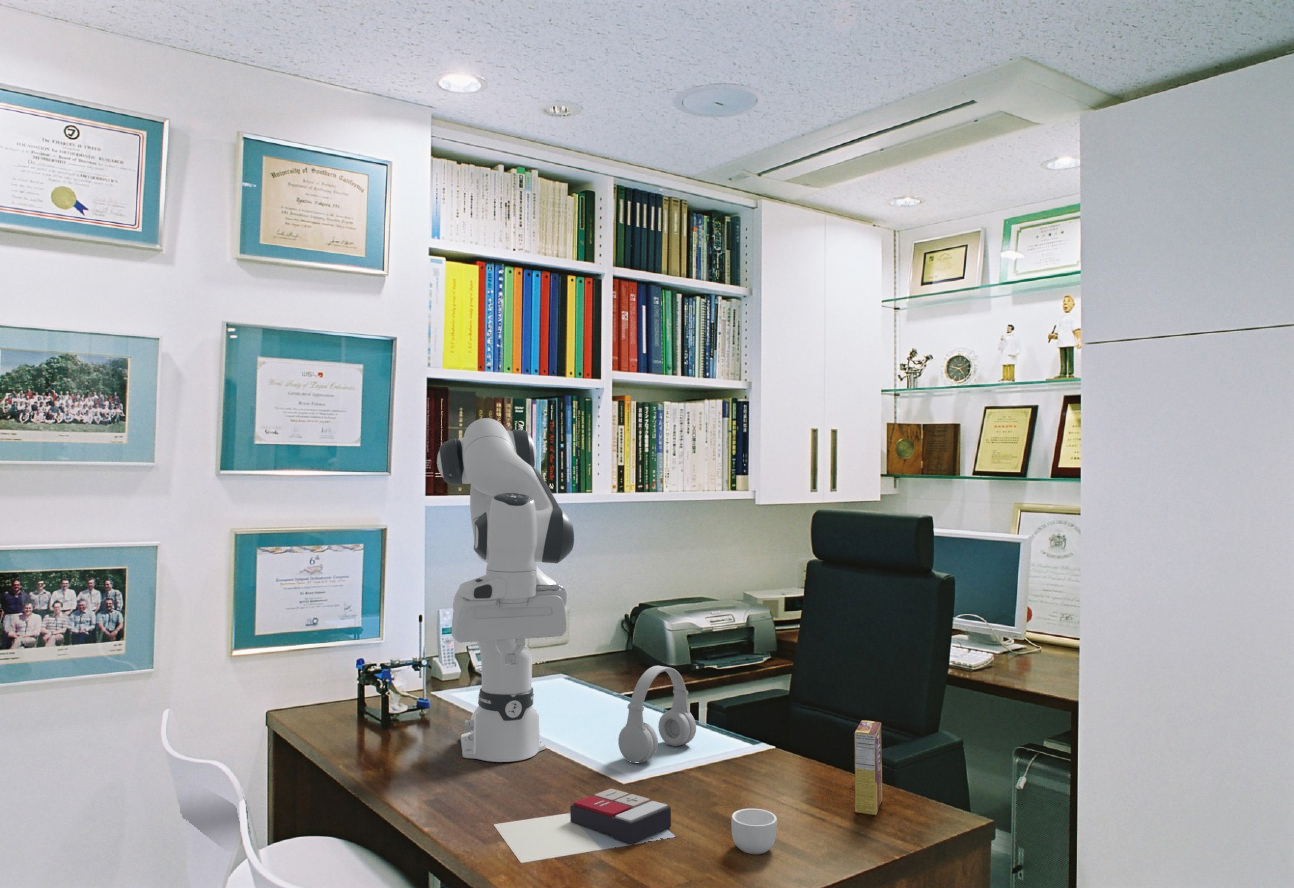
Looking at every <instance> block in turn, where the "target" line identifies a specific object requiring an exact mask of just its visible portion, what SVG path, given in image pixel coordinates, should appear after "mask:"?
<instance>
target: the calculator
mask: <svg viewBox="0 0 1294 888" xmlns="http://www.w3.org/2000/svg"><path fill="white" fill-rule="evenodd" d="M569 808H570V811H569V813H570V818H571V822H572V823H575V824H578V825H582V826H585V827H588V828H591V829H594V830H598V831H601V832H604V833H607V834H610V835H612V836H613V837H614V839H615V840H618V841H621V842H624V843H627V844H634V843H636V842H638V841H640V840H643V839H645V838H647V837H649V836H652V835H654V834H656V833H658V832H661V831H663V830H665V829H669V828H671V827H672V810H671V806H670V805H668V804H666V803H662V802H658V801H655V800H651V799H650V798H649V797H645V796H641V795H637V794H634V793H633V794H632V793H630V794H629V793H628V792H625V791H622V790H618V789H614V788H609V789H606V790H603V791H600V792H598V793H595V794H594V795H589V796H587V797H583V798H582V799H581V798H580V799H579V800H576V801H574V802H573V804H570V807H569ZM634 845H635V844H634Z"/></svg>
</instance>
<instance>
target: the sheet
mask: <svg viewBox="0 0 1294 888" xmlns="http://www.w3.org/2000/svg"><path fill="white" fill-rule="evenodd" d="M493 827H494V828H495V829H496V830H497V832H498V833H499V835H500V836H501V837H502V839H503V841H504V843H506V845H507V846H508V847H509V848H510V850H511V852H512V853H513V854H514V856H515V857H516V858H517V860H518V862H520V864H525V863H526V864H527V863H533V862H538V861H545V860H549V859H554V858H555V859H556V858H562V857H567V856H574V855H579V854H584V853H585V854H586V853H590V852H591V853H592V852H598V851H603V850H604V851H605V850H610V849H616V848H620V847H627V846H633V845H632V844H627V843H624V842H621V841H618V840H615V839H614V837H613V836H612V835H610V834H607V833H604V832H601V831H598V830H594V829H591V828H588V827H585V826H582V825H578V824H575V823H572V822H571V818H570V812H568V813H562V814H554V815H546V816H540V817H533V818H528V819H519V820H514V821H513V820H512V821H508V822H501V823H494V824H493ZM675 836H676V835H675V834H674V833H672V832H671V831H670V830H669V828H667V829H665V830H663V831H661V832H658V833H656V834H654V835H652V836H649V837H647V838H645V839H643V840H640V841H638V842H636V843H634V845H640V844H645V843H644V842H646V843H649V842H648V841H652V842H655V841H656V840H658V841H662V840H661V839H660V838H663V839H664V840H668V839H667V838H670V839H675V838H674V837H675ZM651 838H653V839H651ZM656 842H657V841H656ZM615 847H616V848H615Z"/></svg>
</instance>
